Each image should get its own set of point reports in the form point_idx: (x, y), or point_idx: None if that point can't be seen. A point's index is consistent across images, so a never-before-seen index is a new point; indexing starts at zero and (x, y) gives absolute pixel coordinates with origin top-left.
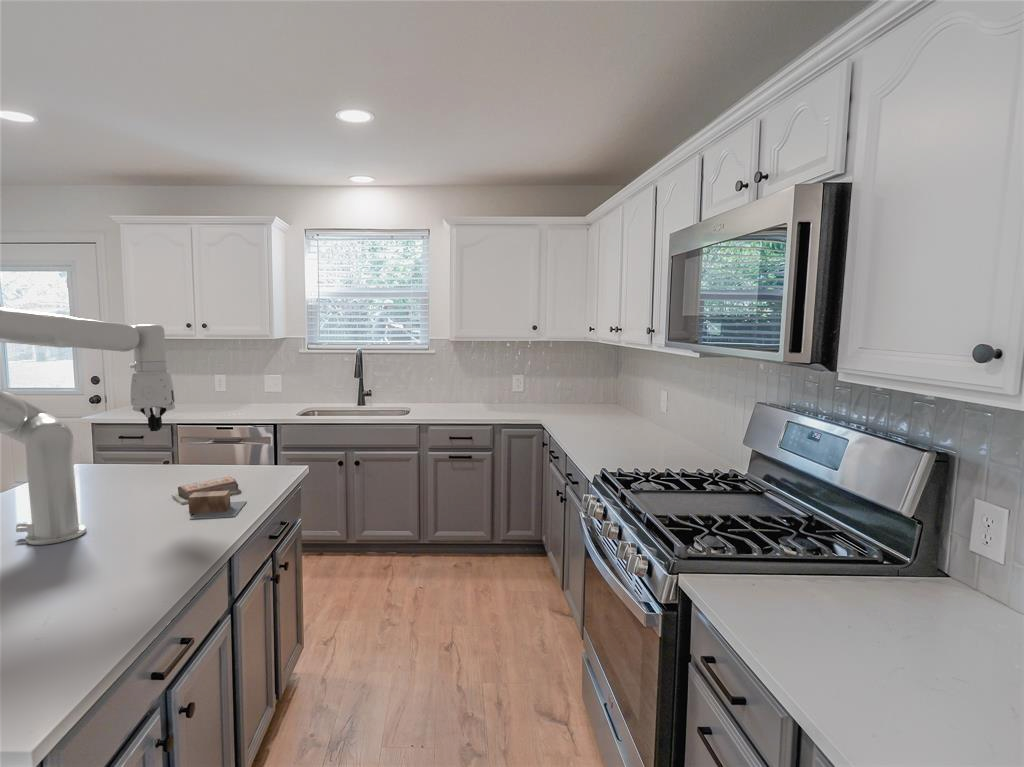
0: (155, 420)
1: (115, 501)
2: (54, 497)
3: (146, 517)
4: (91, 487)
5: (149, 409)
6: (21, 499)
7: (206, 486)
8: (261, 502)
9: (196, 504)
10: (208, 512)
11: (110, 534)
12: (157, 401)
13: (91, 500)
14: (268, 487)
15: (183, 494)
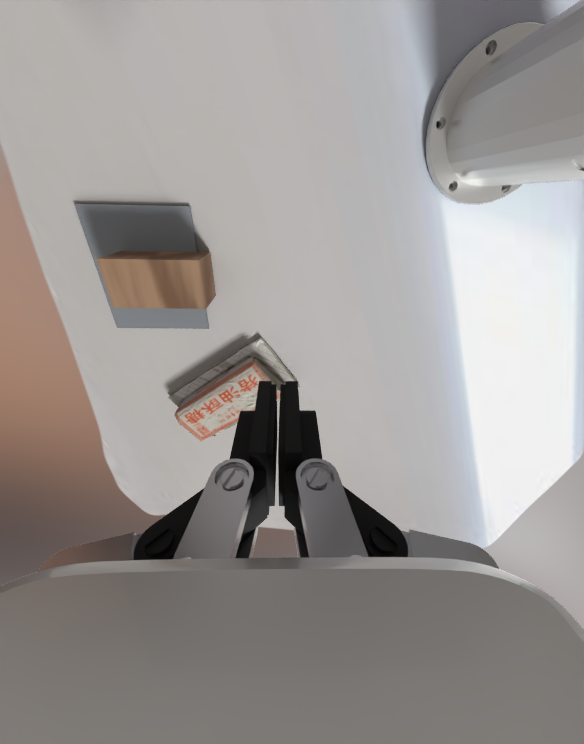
0: (252, 433)
1: (403, 382)
2: None
3: (308, 254)
4: (458, 462)
5: (309, 550)
6: (565, 421)
7: (222, 388)
8: (80, 318)
9: (184, 255)
10: (164, 251)
11: (357, 108)
12: (84, 706)
13: (448, 395)
14: (128, 415)
15: (268, 372)
